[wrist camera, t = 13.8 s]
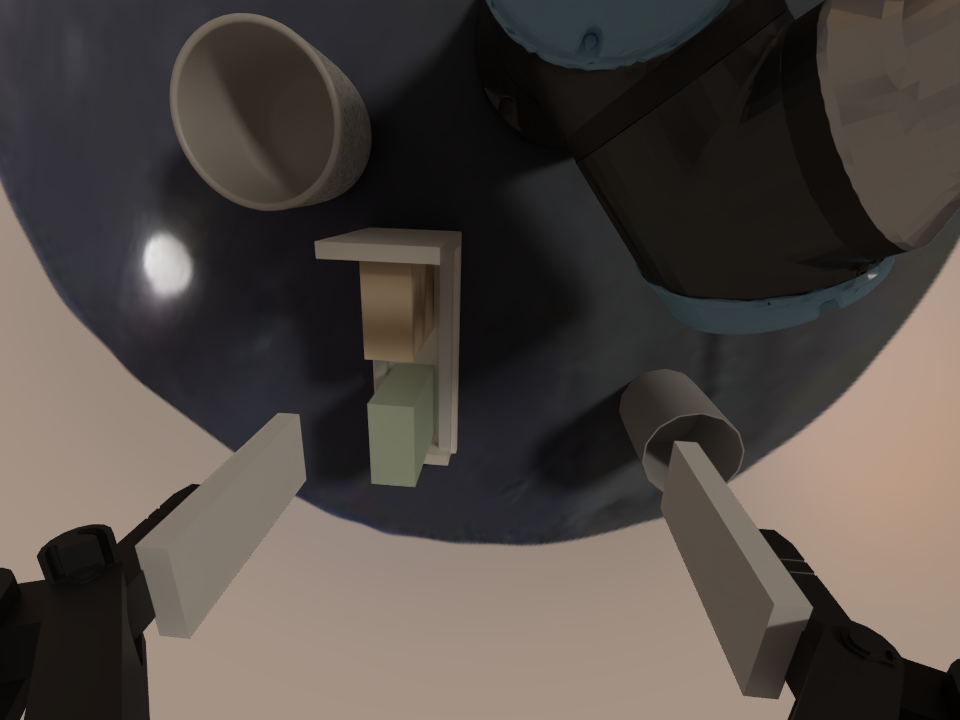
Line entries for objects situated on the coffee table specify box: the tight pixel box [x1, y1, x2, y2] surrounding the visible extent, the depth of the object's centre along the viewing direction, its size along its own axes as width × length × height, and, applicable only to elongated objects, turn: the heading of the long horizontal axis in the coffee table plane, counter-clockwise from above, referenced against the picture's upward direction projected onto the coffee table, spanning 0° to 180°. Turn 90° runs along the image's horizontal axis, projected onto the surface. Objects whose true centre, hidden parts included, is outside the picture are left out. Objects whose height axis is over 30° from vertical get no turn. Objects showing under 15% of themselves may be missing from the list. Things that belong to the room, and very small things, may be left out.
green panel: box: [367, 363, 434, 487], centre depth 45 cm, size 8×4×10 cm, turn 178°
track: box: [315, 227, 462, 466], centre depth 43 cm, size 24×9×13 cm, turn 178°
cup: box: [619, 369, 745, 492], centre depth 45 cm, size 8×8×10 cm
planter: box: [170, 13, 372, 211], centre depth 38 cm, size 12×12×11 cm
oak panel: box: [359, 261, 434, 362], centre depth 41 cm, size 8×4×10 cm, turn 178°
